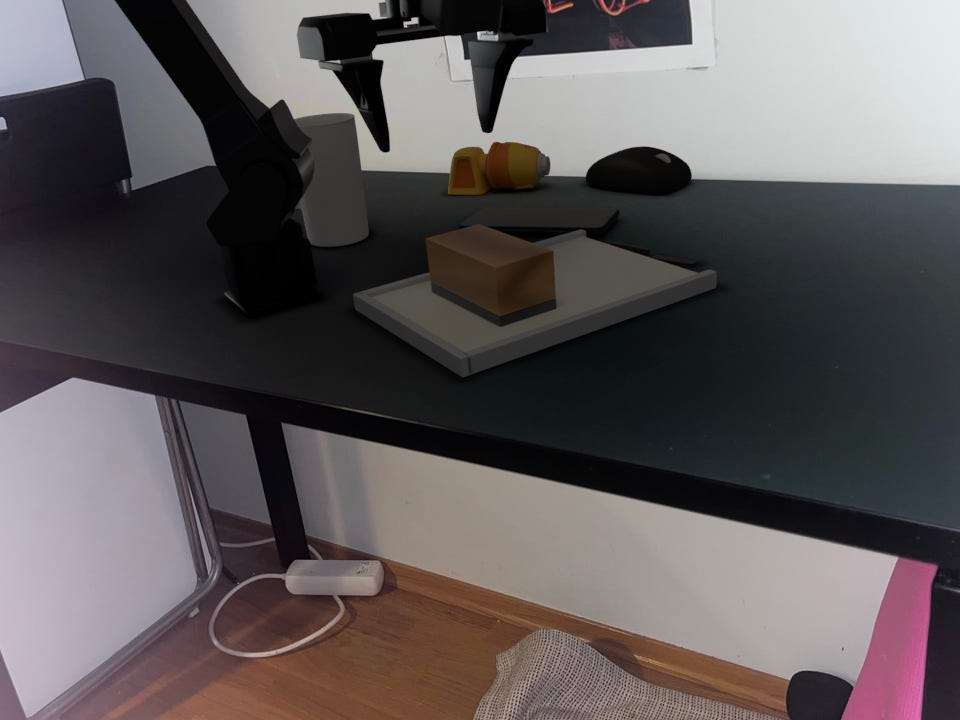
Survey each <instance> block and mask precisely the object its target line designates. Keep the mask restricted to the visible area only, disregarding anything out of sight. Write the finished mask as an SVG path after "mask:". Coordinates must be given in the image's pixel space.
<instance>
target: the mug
mask: <svg viewBox="0 0 960 720" xmlns="http://www.w3.org/2000/svg"><path fill="white" fill-rule="evenodd" d="M294 120H295V122H296V124H297V126H298V127H299V128H300V129H301V130H302V132H303V133H304V134H306V135H307V136H309V137H310V138H311V139H312V143H311V144H310V145H309V147H308V148H309V150H310V152H311V154H312V156H313V160H314V173H313V179H312V181H311V183H310V185H309V187H308V188H307V190H306V192H305V193H304V195H303V196H302V198H301V200H300V201H299V203H298V204H297V206H296V207H295V210H300V211H301V213H302V217H303V223H304V227H305V228H304V229H305V232H306V236H307V237H306V238H307V239H309V240H310V245H311V246H314V247H319V248H335V247H336V248H337V247H343V246H348V245H352V244H355V243H356V244H357V243H359V242H362V241H363V240H365V239H367V238H368V237H369V234H370V230H369V220H368V211H367V202H366V195H365V187H364V186H365V185H364V179H363V171H362V163H361V155H360V146H359V138H358V131H357V125H356V116H355V115H354V114H353V113H349V112H333V113H331V112H330V113H321V114H320V113H319V114H312V115H307V116H300V117H296V118H294Z"/></svg>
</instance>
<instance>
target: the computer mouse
mask: <svg viewBox="0 0 960 720" xmlns="http://www.w3.org/2000/svg"><path fill="white" fill-rule="evenodd" d="M692 178H693V175H692V169H691V168H690V166H689V164H688V163H687V162H686V161H685V160H683V159H682V158H681V157H679V156H678V155H676V154H674V153H671V152H670V151H667V150H664V149H661V148H657V147H654V146H653V147H652V146H644V145H643V146H633V147H632V146H631V147H628V148H625V149H622V150H621V149H620V150H617V151H615V152H613V153H611V154H607V155H606V156H604V157H602V158H600V159H598V160H597V161H595V162H594V163H592V165H590V166H589V168H588V169H587V171H586V173H585V181H586V183H587V184H588V186H590V187H591V186H592V187H596V188H602V189H608V190H616V191H624V192H625V191H626V192H632V193H633V192H634V193H643V194H667V193H670V192H673V191H676V190H677V189H679V188H682V187H684V186H685V185H687V184H688V183H689V182H691V180H692Z"/></svg>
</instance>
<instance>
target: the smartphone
mask: <svg viewBox="0 0 960 720" xmlns="http://www.w3.org/2000/svg"><path fill="white" fill-rule="evenodd" d="M619 216H620V209H619V208H616V207H498V206H497V207H495V206H494V207H491V206H490V207H487V206H485V207H481V208H479V209H478V210H477V211H475V212H474V213H472V214H471V215H469V217H467V218H465V219H464V220H462V222H460V223H459V224H458V226H457V228H458V229H457V230H459V229H462V228H466V227H470V226H474V225H478V224H480V225H483V226H486V227H489V228H491V229H494V230H497V231H500V232H503V233H505V234H537V235H538V234H542V235H543V234H544V235H552V236H559V235H563V234H566V233H570V232H574V231H577V230H585V231H586V236H597V237H598V236H602V235H604V234H605V233H606V231H608V229H609V228H610V227H611V226H612V224H613V223H614V222H615V221H616V220H617V219H618V217H619Z"/></svg>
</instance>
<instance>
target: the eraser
mask: <svg viewBox="0 0 960 720" xmlns="http://www.w3.org/2000/svg"><path fill="white" fill-rule="evenodd" d="M534 243H535V242H530V241H528V240H525V239H522V238H519V237H517V236H513V235H510V234H509V233H503V232H500V231H497V230H494V229H491V228H489V227H486V226H483V225H480V224H478V225H474V226H470V227H466V228H462V229H455V230H452V231H448V232H444V233H440V234H436V235H432V236H429V237H426V238H425V246H426V254H427V263H428V271H429V272H430V280H431V288H432V292H433V293H435V294H437V295H439V296H441V297H443V298H445V299H447V300H449V301H451V302H453V303H455V304H457V305H459V306H461V307H462V308H464V309H466V310H468V311H470V312H472V313H474V314H476V315H478V316H480V317H482V318H484V319H486V320H488V321H490V322H492V323H494V324H496V325H498V326H500V327H502V326H505V325H508V324H511V323H514V322H517V321H520V320H523V319H526V318H529V317H532V316H535V315H538V314H541V313H544V312H547V311H550V310H553V309H556V299H555V298H556V290H555V271H554V253H553V250H550V249H548V248H545V247H542V246H539V245H536V244H534Z"/></svg>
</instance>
